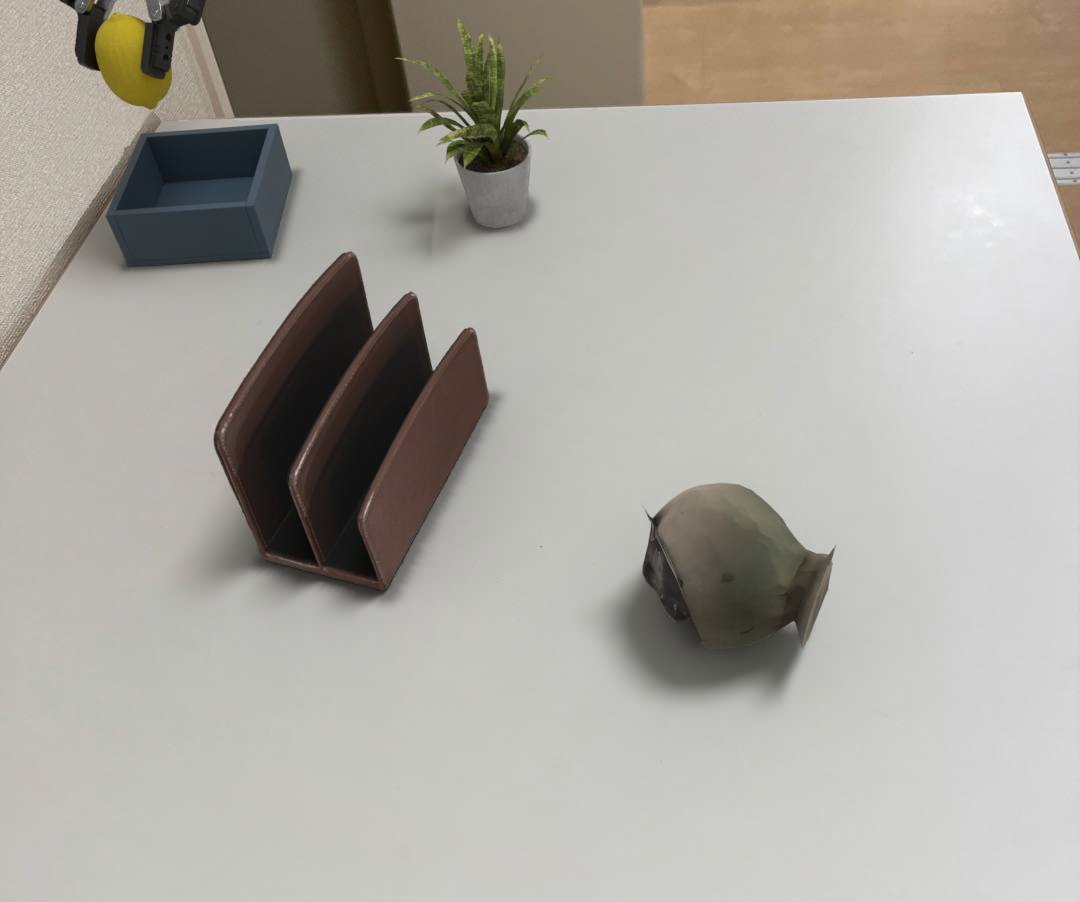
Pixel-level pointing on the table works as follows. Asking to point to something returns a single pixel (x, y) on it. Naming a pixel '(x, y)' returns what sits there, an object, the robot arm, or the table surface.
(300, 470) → the letter holder
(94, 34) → the robot arm
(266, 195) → the bin
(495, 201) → the house plant
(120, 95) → the lemon
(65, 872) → the table surface
